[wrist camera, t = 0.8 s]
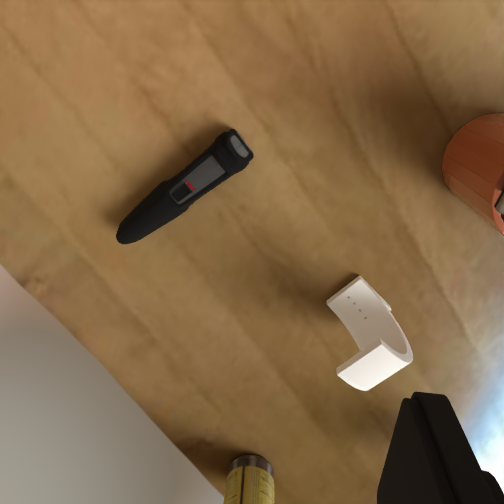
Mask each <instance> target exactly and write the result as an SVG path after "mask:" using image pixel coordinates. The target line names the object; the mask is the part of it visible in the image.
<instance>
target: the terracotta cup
mask: <svg viewBox="0 0 504 504" xmlns="http://www.w3.org/2000/svg"><path fill="white" fill-rule="evenodd" d="M442 173H443V178H444V181H445V183H446V185H447V187H448V188H449V189H450V191H451V192H452V193H453V194H454V195H455V196H456V197H458V198H459V199H460V200H461V201H462V202H464V203H465V204H466V205H467V206H468V207H470V208H471V209H472V210H473V211H474V212H476V213H477V214H478V215H479V216H480V217H482V218H483V219H484V220H485V221H486V222H488V223H489V224H490V225H491V226H493V227H494V228H495V229H496V230H497V231H499V232H500V233H501V234H502V235H503V236H504V215H503V214H501V213H499V212H498V211H496V210H495V207H494V205H495V203H496V201H497V199H498V197H499V195H500V193H501V191H502V189H503V188H504V113H492V114H487V115H483V116H480V117H478V118H476V119H474V120H472V121H470V122H468V123H467V124H466V125H464V126H463V127H462V128H461V129H460V130H458V132H457V133H456V134H455V135H454V136H453V137H452V139H451V140H450V142H449V144H448V145H447V147H446V150H445V152H444V156H443V161H442Z"/></svg>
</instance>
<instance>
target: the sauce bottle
mask: <svg viewBox="0 0 504 504" xmlns="http://www.w3.org/2000/svg"><path fill="white" fill-rule="evenodd" d="M273 476H274V473H273V468H272V466H271V465H270V464H269V463H268V462H267V461H266V460H265V459H264V458H263V457H260V456H256V455H242V456H240V457H238V458H236V459H235V460H234V461H233V462H232V463H231V464H230V466H229V472H228V477H227V480H226V489H225V497H224V504H274V480H273Z"/></svg>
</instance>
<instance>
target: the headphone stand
mask: <svg viewBox="0 0 504 504" xmlns="http://www.w3.org/2000/svg"><path fill="white" fill-rule="evenodd" d="M326 303H327V305H328V306H329V307H330V308H331V310H332V311H333V312H334V313H335V314H336V315H337V316H338V317H339V319H340V320H341V321H342V322H343V324H344V325H345V326H346V328H347V329H348V331H349V332H350V334H351V335H352V337H353V338H354V340H355V342H356V343H357V345H358V347H359V349H360V352H359V353H358V354H356V355H355V356H353V357H352V358H350V359H349V360H347V361H346V362H345V363H343V364H342V365H340V366H339V367H337V368H336V370H337V375H338V376H339V377H340V378H342V379H343V380H344V381H345V382H347V383H348V384H350V385H351V386H353V387H355V388H357V389H359V390H363V391H367V390H369V389H371V388H372V387H374V386H376V385H377V384H379V383H380V382H382V381H383V380H385V379H386V378H388V377H389V376H391V375H392V374H394V373H396V372H397V371H399V370H400V369H402V368H403V367H405V366H406V365H408V364H409V363H411V362H412V361H413V353H412V350H411V347H410V345H409V342H408V340H407V338H406V336H405V335H404V333H403V331H402V329H401V328H400V326H399V324H398V323H397V321H396V320H395V318H394V317H393V315H392V314H391V312H390V310H391V308H390V305H389V304H388V303H387V302H386V301H385V300H384V299H383V298H382V297H381V296H380V295H379V294H378V293H377V292H376V291H375V290H374V289H373V288H372V287H371V286H370V285H369V284H368V283H367V282H366V281H365V280H364V279H363V278H362V277H361V276H360V275H359V276H358V277H357V278H355V279H354V280H353V281H351V282H350V283H349V284H347V285H346V286H345V287H344V288H342V289H341V290H340V291H338V292H337V293H336V294H334V295H333V296H332V297H331V298H329V299H328V300H327V301H326Z"/></svg>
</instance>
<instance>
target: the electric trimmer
mask: <svg viewBox="0 0 504 504" xmlns="http://www.w3.org/2000/svg"><path fill="white" fill-rule="evenodd" d="M252 158H253V153H252V151H251V149H250V147H249V146H248V145H247V144H246V142H244V140H243V138H242V137H241V136H240V134H239V133H238V132H237V131H236V130H234V129H231V130H230V131H228V132H223V133H222V134H220V135H219V136H218V137H217V138H216V139H215V141H214V142H213V144H212V145H211V146H210V147H209V148H208V149H207V150H205V151H204V152H203V153H202V154H201V155H200V156H199V157H197V158H196V159H195V160H194V161H193V162H192V163H191V164H189V165H188V166H187V167H186V168H185V169H183V170H182V171H181V172H180V173H178V174H177V175H176V176H174V177H173V178H171V179H169V180H167V181H164V182H162V183H160V184H159V185H158V186H157V187H156V188H155V189H154V190H153V191H152V192H151V193H150V194H149V195H148V196H147V197H146V198H145V199H144V200H143V201H142V202H141V203H140V204H139V205H138V206H137V207H136V208H135V209H134V210H133V211H132V212H131V213H130V214H129V215H128V216H127V217H126V218H125V219H124V220H123V221H122V222H121V224H120V225H119V228H118V231H117V234H116V238H117V241H118V242H119V243H121V244H129V243H133V242H136V241H138V240H140V239H142V238H144V237H145V236H147V235H148V234H150V233H152V232H153V231H155V230H157V229H158V228H160V227H161V226H163V225H165V224H166V223H168V222H170V221H171V220H173V219H175V218H176V217H178V216H179V215H181V214H182V213H183V212H185V211H186V210H187V209H188V208H189V206H190V205H191V204H193V203H194V202H195V201H196V200H198V199H199V198H200V197H202V196H203V195H204V194H206V193H207V192H209V191H210V190H212V189H213V188H215V187H216V186H218V185H219V184H220V183H222V182H223V181H225V180H226V179H228V178H229V177H231V176H232V175H234V174H235V173H237V172H240V171H242V170H243V169H244V168H245V167H246V166H247V165H248V164H249V161H250V160H251V159H252Z"/></svg>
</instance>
